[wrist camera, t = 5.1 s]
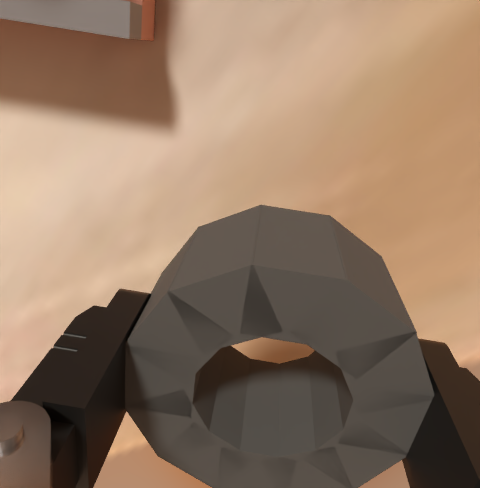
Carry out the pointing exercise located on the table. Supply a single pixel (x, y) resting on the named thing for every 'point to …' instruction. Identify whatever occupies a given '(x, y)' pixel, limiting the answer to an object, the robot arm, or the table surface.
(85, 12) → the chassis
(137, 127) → the table surface
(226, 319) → the wheel
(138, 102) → the table surface
